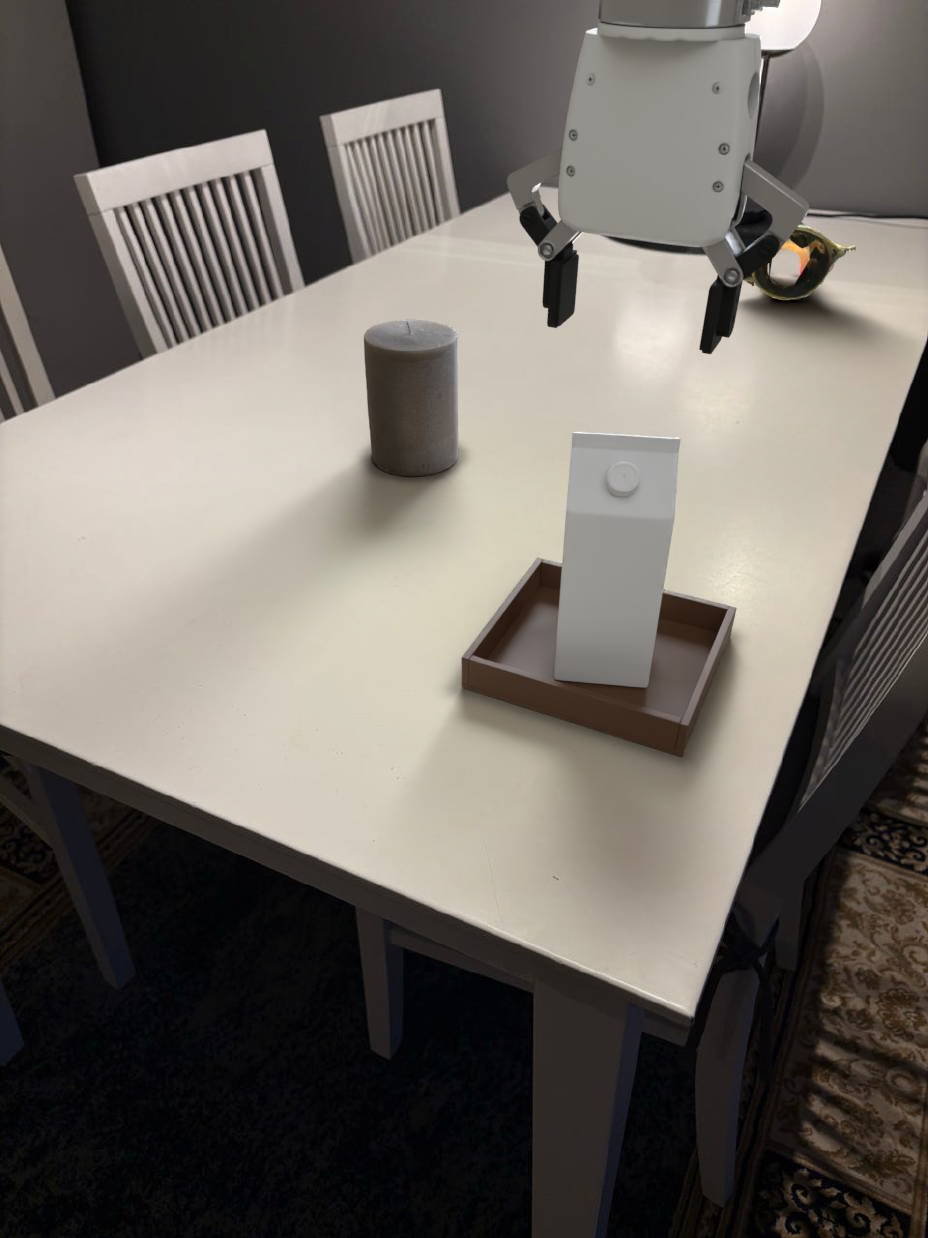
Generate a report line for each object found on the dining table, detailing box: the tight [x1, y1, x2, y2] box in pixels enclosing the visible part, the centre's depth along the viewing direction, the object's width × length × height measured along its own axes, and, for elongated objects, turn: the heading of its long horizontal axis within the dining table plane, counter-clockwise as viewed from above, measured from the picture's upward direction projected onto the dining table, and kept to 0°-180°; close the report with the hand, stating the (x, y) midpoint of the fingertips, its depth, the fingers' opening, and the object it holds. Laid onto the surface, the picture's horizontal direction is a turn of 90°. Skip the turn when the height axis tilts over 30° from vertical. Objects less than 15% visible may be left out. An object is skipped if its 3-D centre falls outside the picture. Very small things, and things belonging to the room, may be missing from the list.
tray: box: [461, 557, 738, 758], centre depth 71 cm, size 17×15×3 cm
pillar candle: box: [363, 318, 459, 477], centre depth 96 cm, size 10×10×15 cm
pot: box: [743, 224, 858, 301], centre depth 145 cm, size 17×11×18 cm
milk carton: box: [554, 431, 681, 688], centre depth 66 cm, size 7×7×19 cm
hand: (633, 333), depth 56 cm, fingers open, 9 cm apart
